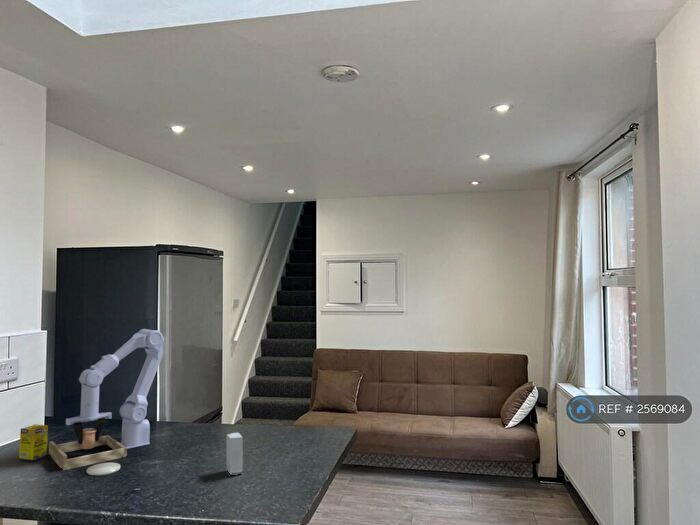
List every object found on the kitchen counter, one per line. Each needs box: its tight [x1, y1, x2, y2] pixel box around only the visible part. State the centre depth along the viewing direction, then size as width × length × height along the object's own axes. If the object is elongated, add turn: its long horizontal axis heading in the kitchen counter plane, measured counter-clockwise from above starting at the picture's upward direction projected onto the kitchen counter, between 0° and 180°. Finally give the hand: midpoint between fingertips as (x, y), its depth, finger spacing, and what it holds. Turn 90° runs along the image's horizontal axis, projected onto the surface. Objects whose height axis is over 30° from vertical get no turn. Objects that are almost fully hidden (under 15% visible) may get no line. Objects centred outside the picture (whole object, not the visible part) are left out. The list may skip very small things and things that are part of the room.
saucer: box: [86, 462, 121, 477], centre depth 161 cm, size 10×10×1 cm
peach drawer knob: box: [80, 427, 97, 450], centre depth 174 cm, size 5×5×6 cm
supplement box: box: [18, 423, 49, 463], centre depth 170 cm, size 6×6×11 cm
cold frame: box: [48, 434, 128, 471], centre depth 174 cm, size 20×20×4 cm
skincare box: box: [226, 432, 244, 474], centre depth 161 cm, size 6×4×12 cm
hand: (88, 441), depth 174 cm, fingers closed on peach drawer knob, 5 cm apart
